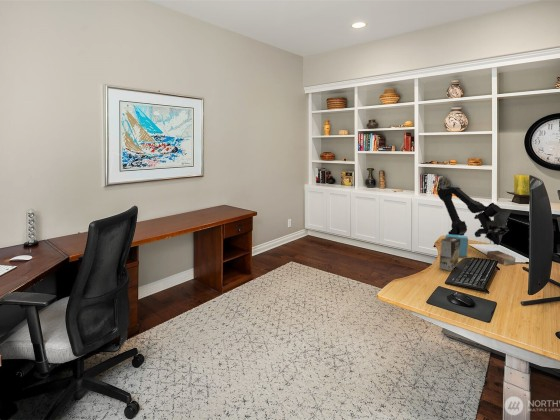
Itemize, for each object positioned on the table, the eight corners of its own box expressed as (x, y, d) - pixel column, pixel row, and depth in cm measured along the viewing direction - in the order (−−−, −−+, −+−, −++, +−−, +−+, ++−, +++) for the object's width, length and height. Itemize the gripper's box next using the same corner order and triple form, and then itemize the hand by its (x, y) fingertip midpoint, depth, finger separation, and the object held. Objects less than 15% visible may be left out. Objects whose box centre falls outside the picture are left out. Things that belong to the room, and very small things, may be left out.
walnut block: (487, 251, 198) (504, 258, 186) (497, 250, 199) (515, 257, 187) (486, 257, 199) (503, 265, 187) (497, 257, 200) (514, 264, 188)
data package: (466, 255, 204) (468, 235, 201) (466, 257, 200) (468, 237, 197) (443, 252, 209) (445, 233, 206) (443, 254, 205) (445, 235, 202)
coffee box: (451, 271, 180) (453, 242, 176) (438, 268, 184) (441, 239, 181) (458, 267, 186) (460, 238, 182) (446, 263, 190) (448, 236, 187)
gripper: (480, 215, 194) (493, 239, 186) (508, 213, 197) (522, 236, 189) (469, 225, 203) (481, 248, 195) (496, 223, 207) (509, 246, 198)
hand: (498, 244), depth 194 cm, fingers closed
